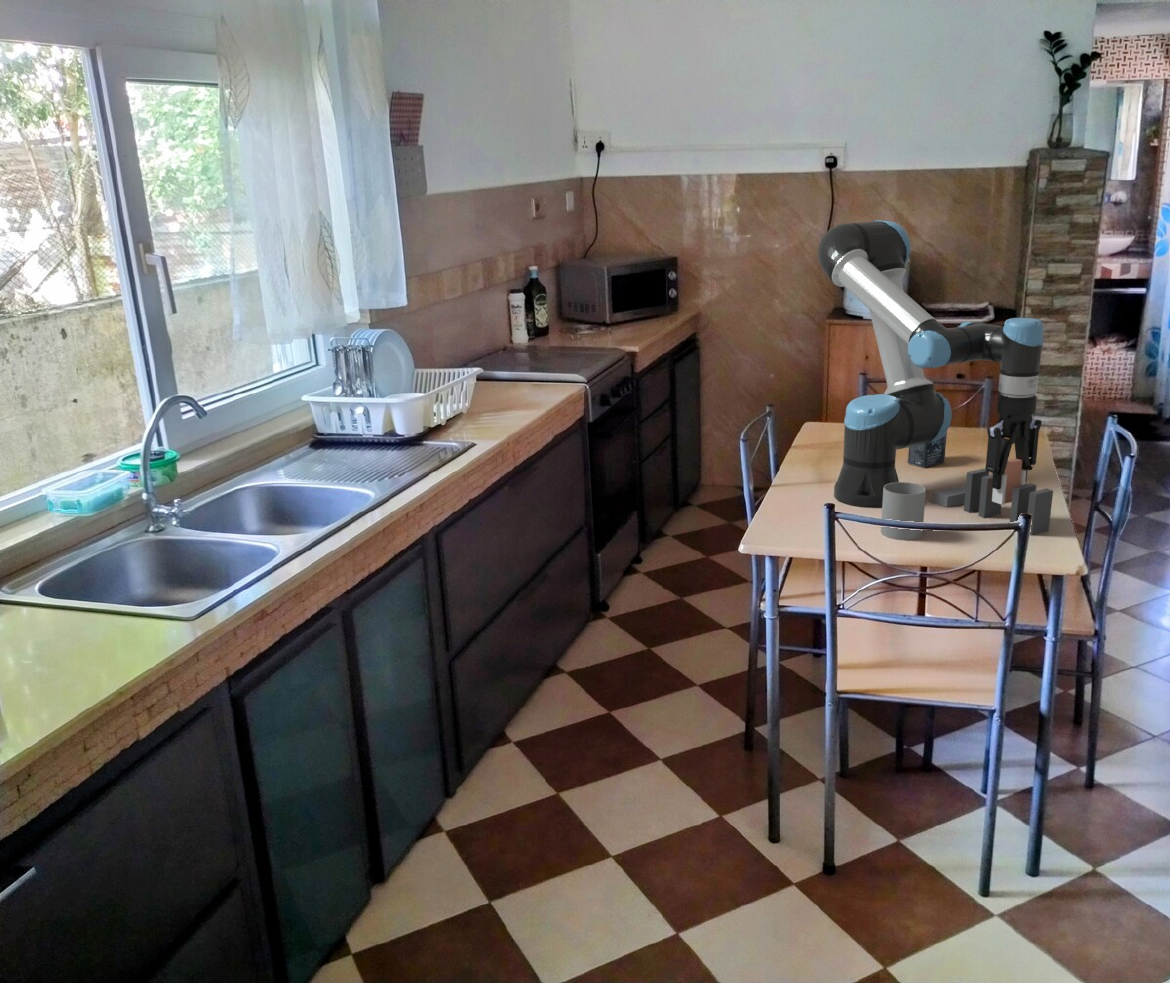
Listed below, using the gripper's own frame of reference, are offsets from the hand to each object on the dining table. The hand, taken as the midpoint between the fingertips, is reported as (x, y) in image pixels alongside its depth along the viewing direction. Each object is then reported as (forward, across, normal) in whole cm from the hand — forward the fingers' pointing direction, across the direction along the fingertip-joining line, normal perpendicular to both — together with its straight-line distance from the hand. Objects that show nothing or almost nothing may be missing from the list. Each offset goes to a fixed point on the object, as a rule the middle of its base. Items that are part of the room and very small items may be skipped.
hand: (1007, 500), depth 216 cm
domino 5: (+5, 0, -8) cm, 9 cm away
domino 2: (+5, 0, +4) cm, 6 cm away
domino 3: (0, 0, 0) cm, 0 cm away
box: (+5, +17, +41) cm, 45 cm away
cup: (+5, -24, +6) cm, 25 cm away
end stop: (+5, 0, +15) cm, 16 cm away
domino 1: (+5, 0, +9) cm, 10 cm away
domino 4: (+5, 0, -4) cm, 6 cm away
